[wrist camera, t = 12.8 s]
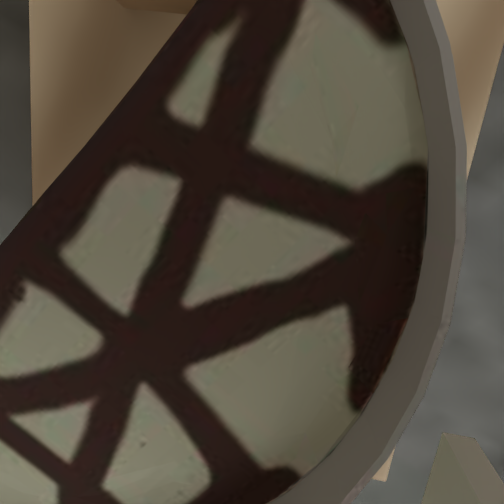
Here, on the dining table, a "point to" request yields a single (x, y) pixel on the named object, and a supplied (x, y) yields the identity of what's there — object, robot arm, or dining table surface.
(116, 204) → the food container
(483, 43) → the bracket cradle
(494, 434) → the dining table surface
